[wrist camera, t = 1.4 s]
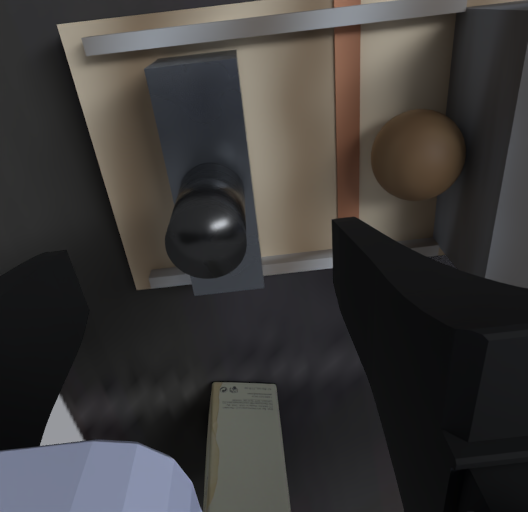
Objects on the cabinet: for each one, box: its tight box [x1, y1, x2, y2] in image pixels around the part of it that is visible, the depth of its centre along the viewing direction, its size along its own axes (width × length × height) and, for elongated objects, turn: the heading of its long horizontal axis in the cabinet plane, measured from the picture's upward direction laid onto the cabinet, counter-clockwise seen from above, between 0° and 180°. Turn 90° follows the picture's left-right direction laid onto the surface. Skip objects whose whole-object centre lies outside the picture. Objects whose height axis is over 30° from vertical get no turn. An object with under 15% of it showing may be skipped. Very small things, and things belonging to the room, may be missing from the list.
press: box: [57, 0, 528, 290], centre depth 18 cm, size 19×12×7 cm, turn 96°
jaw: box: [144, 49, 264, 296], centre depth 16 cm, size 3×9×7 cm, turn 5°
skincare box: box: [203, 382, 291, 512], centre depth 25 cm, size 6×4×12 cm
